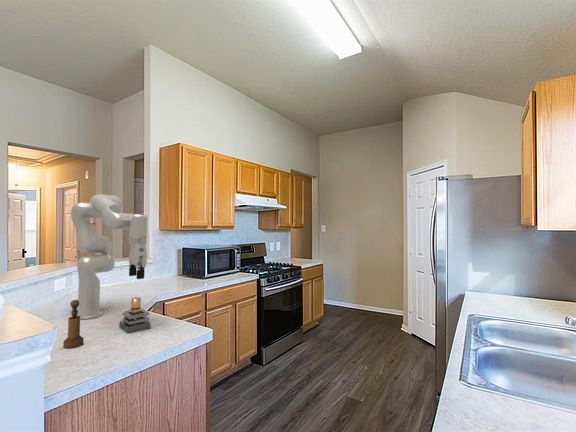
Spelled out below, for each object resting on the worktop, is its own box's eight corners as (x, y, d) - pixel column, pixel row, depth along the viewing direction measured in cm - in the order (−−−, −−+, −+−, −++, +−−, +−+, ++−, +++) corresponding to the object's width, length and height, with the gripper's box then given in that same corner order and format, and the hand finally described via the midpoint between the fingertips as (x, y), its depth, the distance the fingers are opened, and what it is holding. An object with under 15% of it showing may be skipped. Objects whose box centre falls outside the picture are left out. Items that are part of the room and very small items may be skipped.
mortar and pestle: (60, 349, 119) (61, 302, 120) (67, 343, 125) (68, 298, 126) (80, 347, 121) (81, 301, 121) (85, 341, 127) (87, 297, 128)
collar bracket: (119, 327, 145) (119, 311, 145) (141, 323, 152) (141, 307, 152) (127, 333, 137) (128, 316, 137) (150, 328, 144) (150, 312, 144)
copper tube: (138, 320, 147) (139, 296, 147) (141, 322, 144) (142, 298, 144) (129, 322, 144) (130, 298, 144) (132, 324, 141) (133, 299, 141)
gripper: (153, 241, 141) (152, 279, 141) (139, 239, 154) (137, 273, 153) (136, 242, 136) (134, 281, 136) (123, 239, 148) (121, 275, 148)
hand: (136, 277), depth 145 cm, fingers open, 9 cm apart
